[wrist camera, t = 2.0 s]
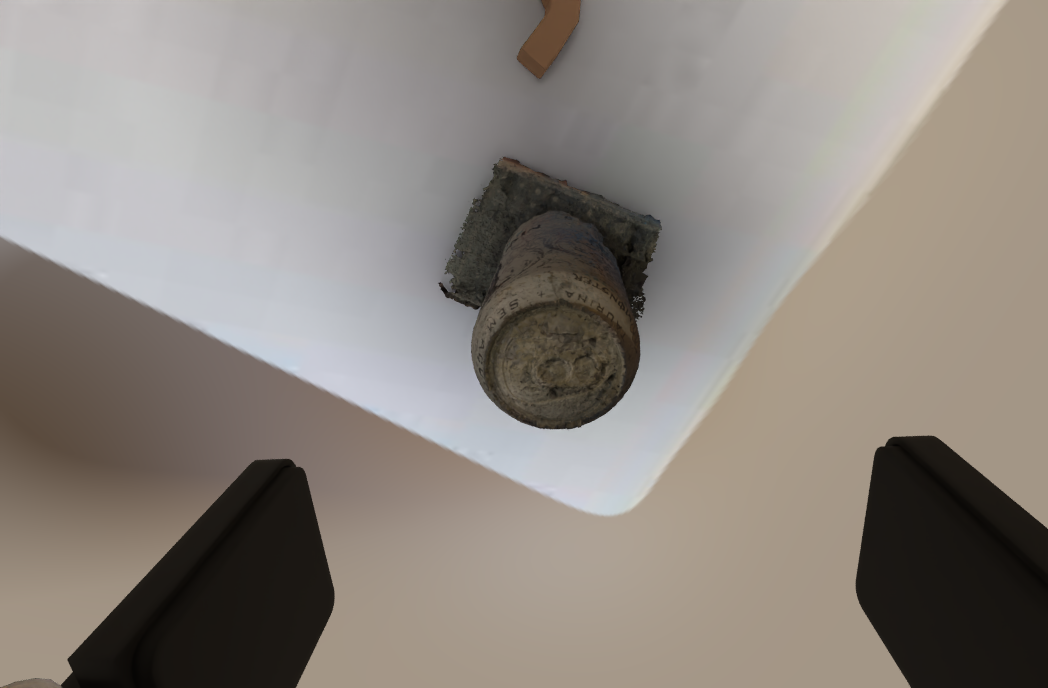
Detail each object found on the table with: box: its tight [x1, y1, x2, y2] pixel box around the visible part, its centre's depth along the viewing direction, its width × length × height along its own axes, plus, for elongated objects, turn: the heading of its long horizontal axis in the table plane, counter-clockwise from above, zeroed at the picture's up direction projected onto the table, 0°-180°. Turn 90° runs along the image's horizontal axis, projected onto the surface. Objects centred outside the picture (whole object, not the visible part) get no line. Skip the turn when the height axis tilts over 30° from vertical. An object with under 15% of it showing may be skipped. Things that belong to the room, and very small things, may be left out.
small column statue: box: [438, 157, 662, 429], centre depth 20 cm, size 9×8×12 cm
